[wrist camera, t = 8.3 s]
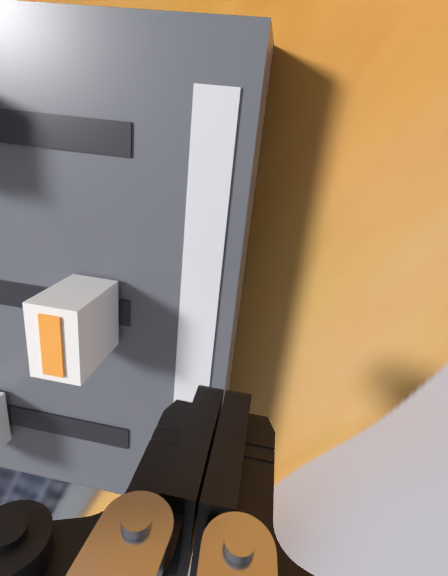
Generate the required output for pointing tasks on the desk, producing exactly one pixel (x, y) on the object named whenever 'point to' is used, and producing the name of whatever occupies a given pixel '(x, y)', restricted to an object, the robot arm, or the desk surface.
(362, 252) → the desk surface
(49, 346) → the breaker
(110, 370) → the slider switch panel
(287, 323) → the desk surface
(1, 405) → the breaker
